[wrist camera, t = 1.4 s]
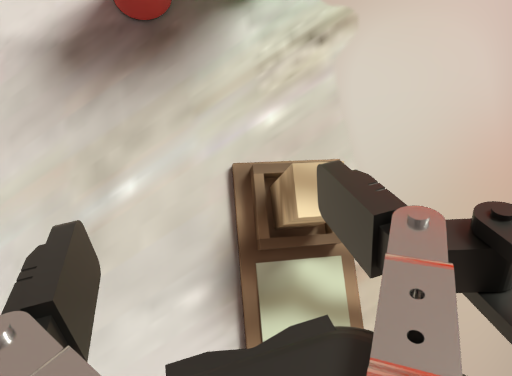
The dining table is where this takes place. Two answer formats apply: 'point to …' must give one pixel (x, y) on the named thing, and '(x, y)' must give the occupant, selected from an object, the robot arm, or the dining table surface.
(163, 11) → the beer can
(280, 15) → the dining table surface
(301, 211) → the maple block
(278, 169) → the puzzle board
